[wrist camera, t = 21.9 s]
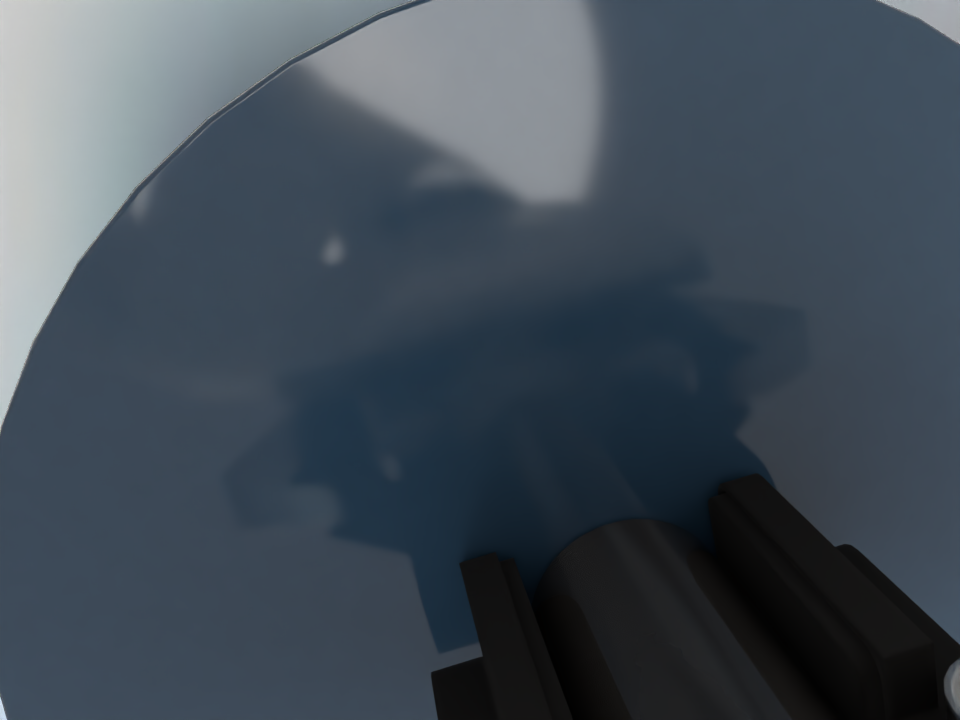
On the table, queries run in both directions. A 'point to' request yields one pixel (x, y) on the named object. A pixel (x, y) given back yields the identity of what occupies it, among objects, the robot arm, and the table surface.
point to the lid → (496, 364)
